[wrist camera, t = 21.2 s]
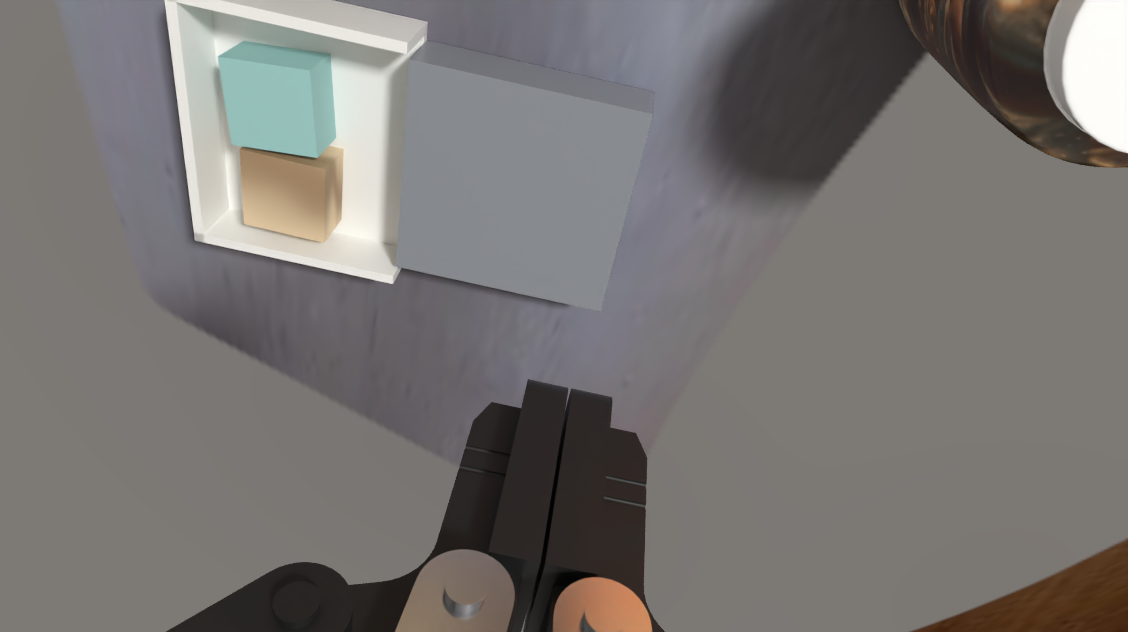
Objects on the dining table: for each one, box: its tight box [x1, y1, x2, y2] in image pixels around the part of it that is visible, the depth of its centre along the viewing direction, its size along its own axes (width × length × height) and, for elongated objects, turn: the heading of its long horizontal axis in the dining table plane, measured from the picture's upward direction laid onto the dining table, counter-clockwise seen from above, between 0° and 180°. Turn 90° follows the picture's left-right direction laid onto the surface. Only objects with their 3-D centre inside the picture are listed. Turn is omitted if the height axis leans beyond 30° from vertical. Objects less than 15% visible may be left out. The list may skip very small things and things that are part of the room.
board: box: [396, 40, 654, 311], centre depth 44 cm, size 13×13×4 cm
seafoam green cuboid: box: [218, 41, 336, 158], centre depth 42 cm, size 5×5×3 cm
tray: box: [165, 0, 428, 284], centre depth 43 cm, size 15×12×4 cm
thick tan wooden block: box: [240, 146, 344, 243], centre depth 45 cm, size 5×5×3 cm
